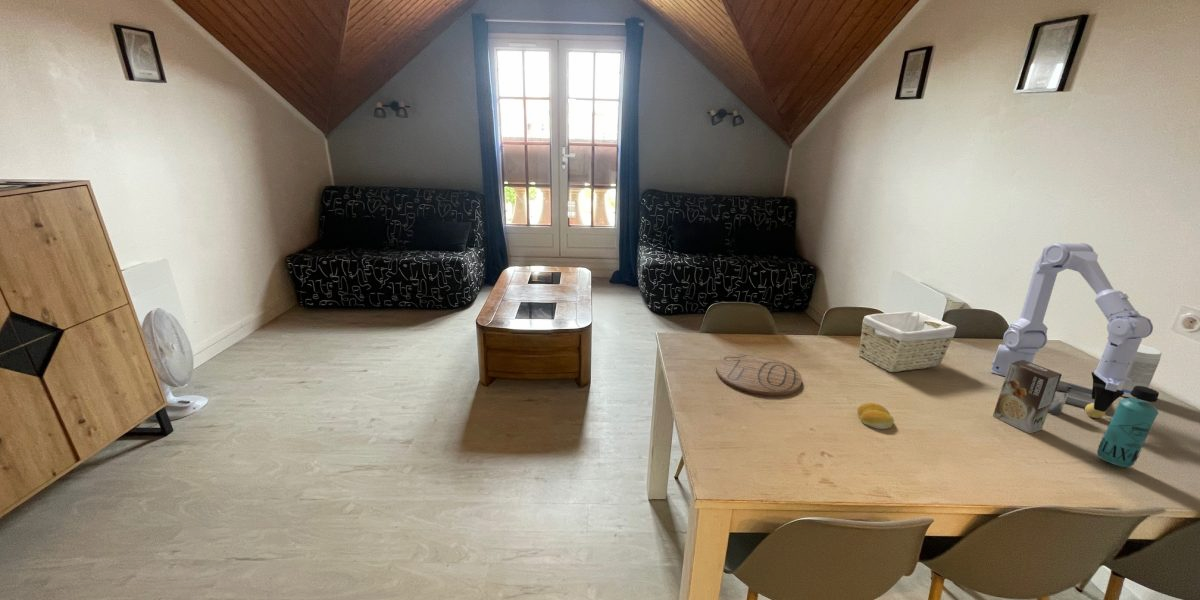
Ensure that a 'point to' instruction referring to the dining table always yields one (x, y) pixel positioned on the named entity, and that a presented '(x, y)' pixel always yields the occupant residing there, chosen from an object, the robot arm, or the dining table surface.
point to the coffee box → (1026, 395)
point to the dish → (1079, 395)
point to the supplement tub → (1141, 369)
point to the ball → (1093, 411)
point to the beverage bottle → (1129, 427)
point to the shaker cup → (1059, 398)
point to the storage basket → (904, 340)
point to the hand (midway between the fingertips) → (1097, 404)
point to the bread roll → (875, 416)
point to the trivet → (759, 375)
